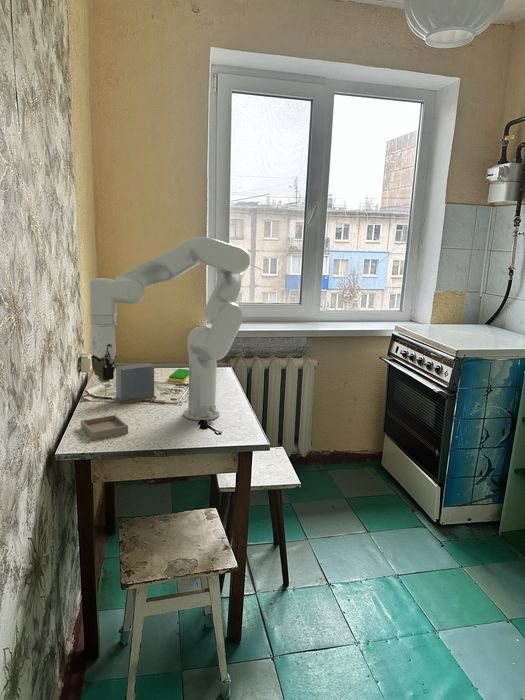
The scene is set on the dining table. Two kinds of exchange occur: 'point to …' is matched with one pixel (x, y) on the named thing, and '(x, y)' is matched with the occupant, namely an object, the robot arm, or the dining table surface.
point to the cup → (100, 367)
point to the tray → (104, 427)
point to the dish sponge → (179, 375)
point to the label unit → (134, 383)
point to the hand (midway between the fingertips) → (104, 375)
